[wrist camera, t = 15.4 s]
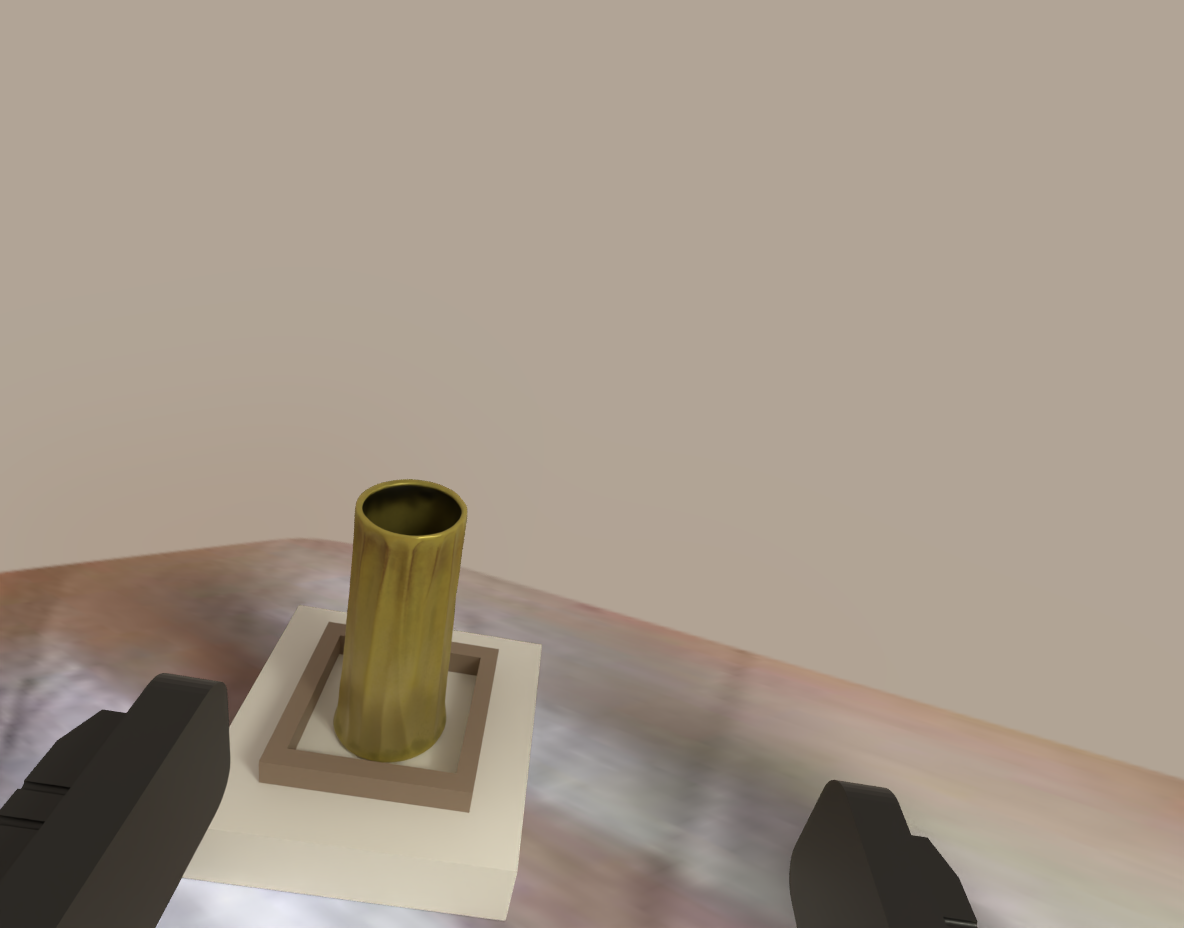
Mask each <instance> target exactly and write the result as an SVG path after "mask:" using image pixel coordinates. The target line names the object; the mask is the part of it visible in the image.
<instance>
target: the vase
mask: <svg viewBox="0 0 1184 928" xmlns="http://www.w3.org/2000/svg"><path fill="white" fill-rule="evenodd" d="M354 521H355V522H354V540H353V555H352V566H351V577H350V592H349V601H348V610H347V619H346V632H345V644H344V654H343V665H342V672H341V679H340V687H339V699H338V705H337V708H336V711H335V714H334V719H333V725H334V730H335V733H336V735H337V737H338V739H339V740H340V742H341V743H342V744H343V746H344V747H345V748H346V749H347V750H349V751H350V752H352V753H353V754H355V755H357V756H359V757H361V758H363V759H366V760H370V761H375V762H382V763H390V762H400V761H405V760H408V759H412V758H414V757H416V756H418V755H420V754H422V753H424V752H425V751H427V750H428V749H430V748H431V747H432V746H433V745H434V744H435V743H436V742H437V740H438V739H439V737H440V736H441V734H442V732H443V730H444V728H445V725H446V718H447V717H446V706H445V697H446V687H447V676H448V668H449V661H450V653H451V643H452V633H453V623H454V613H455V601H456V591H457V586H458V579H459V572H460V564H461V557H462V549H463V543H464V536H465V529H466V522H467V507H466V504H465V503H464V501H463V500H462V499H461V498H460V496H459V495H458V494H456V493H455V492H454V491H452V490H450V489H449V488H446V487H444V486H442V485H439V484H436V483H433V482H428V481H422V480H413V479H409V480H408V479H407V480H406V479H405V480H393V481H388V482H383V483H380V484H377V485H374V486H372V487H370V488H369V489H367V490H365V491H364V492H363V493H362V494H361V495H360V496H359V498H358V500H357V502H356V507H355V520H354Z"/></svg>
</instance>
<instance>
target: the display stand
mask: <svg viewBox="0 0 1184 928" xmlns="http://www.w3.org/2000/svg"><path fill="white" fill-rule="evenodd" d="M346 619H347V613H345V612H339V611H333V610H327V609H320V608H314V607H308V606H302V605H299V606H298V608H297V610H296V611H295V613H294V615H293V617H292V618H291V620H290V622H289V624H288V625H287V627H286V629H285V631H284V632H283V634H282V636H281V638H280V639H279V641H278V643H277V645H276V646H275V648H274V650H273V652H272V653H271V655H270V657H269V659H268V660H267V662H266V664H265V666H264V667H263V669H262V671H261V673H260V674H259V676H258V678H257V680H256V681H255V683H254V685H253V687H252V688H251V690H250V692H249V694H248V695H247V697H246V699H245V701H244V702H243V704H242V706H241V708H240V709H239V711H238V713H237V715H236V716H235V718H234V720H233V722H232V723H231V725H230V727H229V738H230V772H229V777H228V782H227V785H226V789H225V792H224V795H223V798H222V801H221V803H220V806H219V808H218V810H217V812H216V814H215V816H214V818H213V820H212V822H211V824H210V826H209V827H208V829H207V831H206V833H205V835H204V837H203V839H202V841H201V843H200V844H199V846H198V848H197V850H196V852H195V854H194V856H193V858H192V859H191V861H190V863H189V865H188V867H187V869H186V871H185V873H184V875H183V876H182V878H187V879H195V880H202V881H210V882H217V883H225V884H232V885H240V886H247V887H255V888H262V889H270V890H277V891H285V892H292V893H300V894H307V895H314V896H322V897H329V898H337V899H344V900H352V901H359V902H367V903H374V904H382V905H389V906H397V907H404V908H412V909H419V910H427V911H434V912H442V913H449V914H457V915H464V916H471V917H479V918H486V919H494V920H501V921H505V920H506V916H507V912H508V908H509V904H510V900H511V896H512V891H513V887H514V883H515V879H516V875H517V870H518V861H519V851H520V842H521V833H522V824H523V815H524V805H525V796H526V787H527V778H528V769H529V760H530V750H531V741H532V732H533V723H534V714H535V704H536V695H537V686H538V677H539V668H540V658H541V649H542V645H541V644H535V643H529V642H522V641H516V640H510V639H504V638H498V637H492V636H486V635H480V634H473V633H467V632H461V631H455V630H453V633H452V643H451V653H450V661H449V668H448V676H447V687H446V697H445V706H446V717H447V718H446V725H445V728H444V730H443V732H442V734H441V736H440V737H439V739H438V740H437V742H436V743H435V744H434V745H433V746H432V747H431V748H430V749H428V750H427V751H425V752H424V753H422V754H420V755H418V756H416V757H414V758H412V759H408V760H405V761H400V762H390V763H382V762H375V761H370V760H366V759H363V758H361V757H359V756H357V755H355V754H353V753H352V752H350V751H349V750H347V749H346V748H345V747H344V746H343V744H342V743H341V742H340V740H339V739H338V737H337V735H336V733H335V730H334V725H333V719H334V714H335V711H336V708H337V705H338V699H339V687H340V679H341V672H342V665H343V654H344V644H345V632H346Z"/></svg>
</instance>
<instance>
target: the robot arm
mask: <svg viewBox="0 0 1184 928" xmlns="http://www.w3.org/2000/svg"><path fill="white" fill-rule="evenodd" d="M229 772H230V738H229V717H228V697H227V688H226V685H225V684H224V683H223V682H219V681H212V680H206V679H200V678H193V677H187V676H180V675H174V674H168V673H162V674H159V675H157V676H156V677H155V678H154V679H153V680H152V681H151V682H150V683H149V684H148V685H147V687H146V688H145V689H144V691H143V692H142V693H141V695H140V696H139V697H138V699H137V700H136V701H135V703H134V704H133V705H132V707H131V708H130V709H129V711H128V712H127V713H122V712H115V711H109V710H101V711H100V712H98V713H97V714H95V715H94V716H92V717H91V718H89V719H88V720H86V721H85V722H83V723H82V724H81V725H79V726H78V727H76V728H75V729H73V730H72V731H70V732H69V733H67V734H66V735H65V736H63V737H62V738H60V739H59V740H57V741H56V743H55V744H54V745H53V746H52V747H51V749H50V750H49V751H48V752H47V753H46V755H45V756H44V757H43V758H42V760H41V761H40V762H39V763H38V764H37V766H36V767H35V768H34V769H33V770H32V772H31V773H30V774H29V775H28V777H27V778H26V779H25V780H24V785H23V787H22V788H21V789H17V790H16V791H15V792H14V794H13V795H12V796H11V797H10V798H9V800H8V801H7V802H6V803H5V804H4V806H3V807H2V808H1V809H0V928H155V927H156V925H157V924H158V922H159V920H160V918H161V916H162V914H163V912H164V910H165V908H166V907H167V905H168V903H169V901H170V899H171V897H172V895H173V893H174V891H175V890H176V888H177V886H178V884H179V882H180V880H181V878H182V876H183V875H184V873H185V871H186V869H187V867H188V865H189V863H190V861H191V859H192V858H193V856H194V854H195V852H196V850H197V848H198V846H199V844H200V843H201V841H202V839H203V837H204V835H205V833H206V831H207V829H208V827H209V826H210V824H211V822H212V820H213V818H214V816H215V814H216V812H217V810H218V808H219V806H220V803H221V801H222V798H223V795H224V792H225V789H226V785H227V782H228V777H229ZM789 884H790V895H791V901H792V906H793V910H794V915H795V920H796V924H797V928H977V919H976V917H975V915H974V912H973V910H972V908H971V905H970V903H969V901H968V898H967V896H966V894H965V891H964V889H963V887H962V884H961V882H960V880H959V877H958V876H957V875H956V874H955V872H954V871H953V870H952V868H951V867H950V866H949V865H948V863H947V862H946V861H945V859H944V858H943V857H942V856H941V854H940V853H939V852H938V850H937V849H936V848H935V847H934V845H933V844H932V843H931V842H930V840H929V839H928V838H926V837H920V836H913V835H911V833H910V831H909V828H908V826H907V823H906V820H905V818H904V815H903V813H902V810H901V808H900V805H899V803H898V801H897V798H896V797H895V795H894V794H893V793H892V792H891V791H890V790H889V789H887V788H882V787H876V786H869V785H863V784H857V783H850V782H844V781H837V780H831V781H830V782H828V783H827V784H826V786H825V787H824V789H823V791H822V793H821V795H820V797H819V799H818V801H817V803H816V805H815V807H814V809H813V811H812V813H811V815H810V817H809V819H808V821H807V823H806V825H805V827H804V829H803V831H802V833H801V835H800V837H799V839H798V841H797V843H796V845H795V847H794V850H793V853H792V857H791V863H790V873H789Z"/></svg>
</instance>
